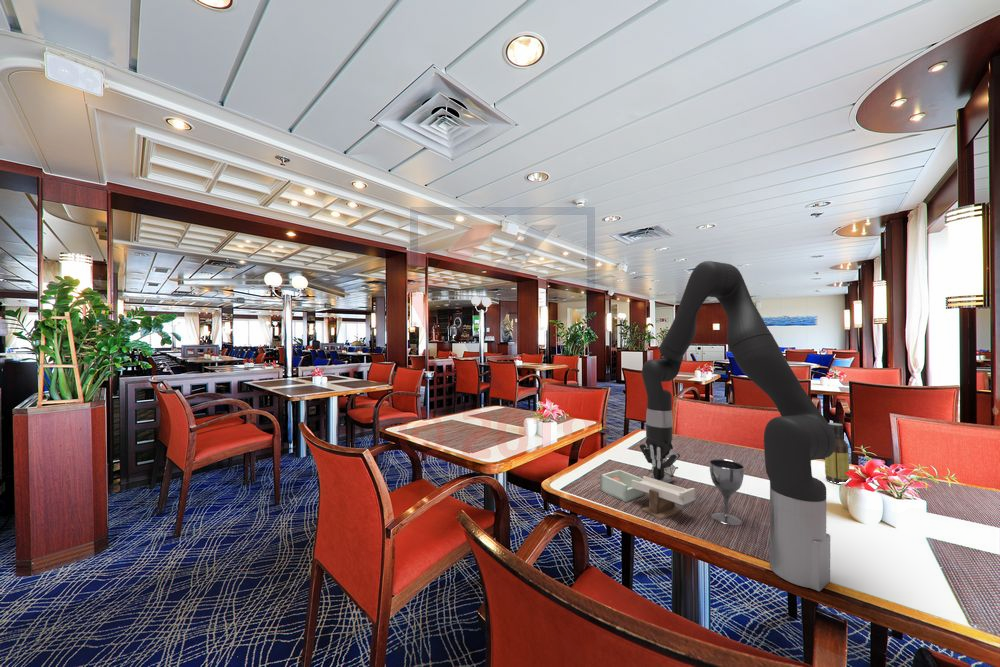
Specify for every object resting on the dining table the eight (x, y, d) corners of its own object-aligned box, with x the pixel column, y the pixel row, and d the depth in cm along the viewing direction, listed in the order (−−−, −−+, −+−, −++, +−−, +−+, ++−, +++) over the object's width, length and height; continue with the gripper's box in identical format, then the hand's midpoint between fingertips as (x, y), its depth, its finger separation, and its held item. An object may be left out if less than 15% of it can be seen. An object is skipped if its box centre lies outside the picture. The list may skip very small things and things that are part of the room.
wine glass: (727, 528, 96) (727, 470, 96) (702, 513, 103) (702, 460, 103) (751, 523, 98) (751, 467, 98) (725, 510, 105) (725, 457, 105)
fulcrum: (682, 510, 105) (682, 487, 105) (660, 520, 100) (660, 496, 100) (663, 502, 110) (663, 480, 110) (641, 511, 105) (641, 488, 105)
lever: (712, 497, 104) (711, 481, 104) (683, 509, 96) (682, 493, 97) (661, 481, 118) (661, 468, 118) (632, 491, 110) (631, 477, 110)
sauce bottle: (850, 482, 126) (850, 424, 126) (849, 487, 121) (849, 427, 122) (825, 476, 130) (825, 420, 130) (823, 481, 126) (823, 423, 126)
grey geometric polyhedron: (669, 493, 125) (683, 476, 119) (644, 482, 127) (657, 465, 121) (668, 472, 132) (682, 455, 126) (645, 462, 134) (657, 445, 128)
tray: (644, 495, 115) (644, 479, 115) (625, 502, 110) (625, 485, 110) (618, 484, 123) (619, 469, 123) (600, 490, 118) (600, 474, 118)
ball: (625, 484, 118) (619, 474, 120) (618, 486, 116) (612, 476, 118) (619, 489, 120) (613, 479, 122) (612, 491, 118) (606, 481, 120)
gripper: (686, 426, 110) (686, 484, 111) (648, 417, 122) (647, 469, 122) (671, 430, 106) (671, 489, 107) (633, 420, 118) (632, 474, 118)
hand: (658, 478), depth 114 cm, fingers closed
